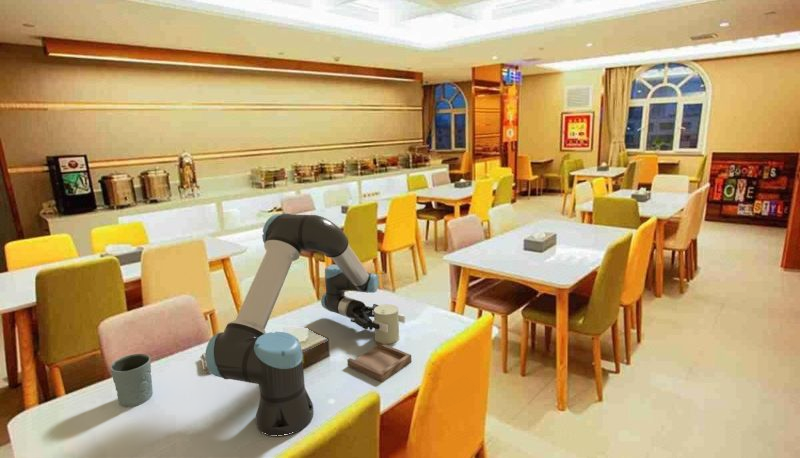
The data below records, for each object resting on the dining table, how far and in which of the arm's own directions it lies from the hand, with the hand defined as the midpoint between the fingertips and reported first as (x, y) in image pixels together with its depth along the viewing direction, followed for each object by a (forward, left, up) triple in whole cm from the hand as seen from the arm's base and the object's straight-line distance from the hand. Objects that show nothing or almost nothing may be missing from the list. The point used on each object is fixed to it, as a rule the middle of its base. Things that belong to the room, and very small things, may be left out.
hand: (395, 323), depth 157 cm
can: (0, +5, -7) cm, 9 cm away
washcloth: (-44, +38, -8) cm, 59 cm away
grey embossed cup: (-73, +40, -7) cm, 83 cm away
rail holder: (-15, -5, -7) cm, 17 cm away
